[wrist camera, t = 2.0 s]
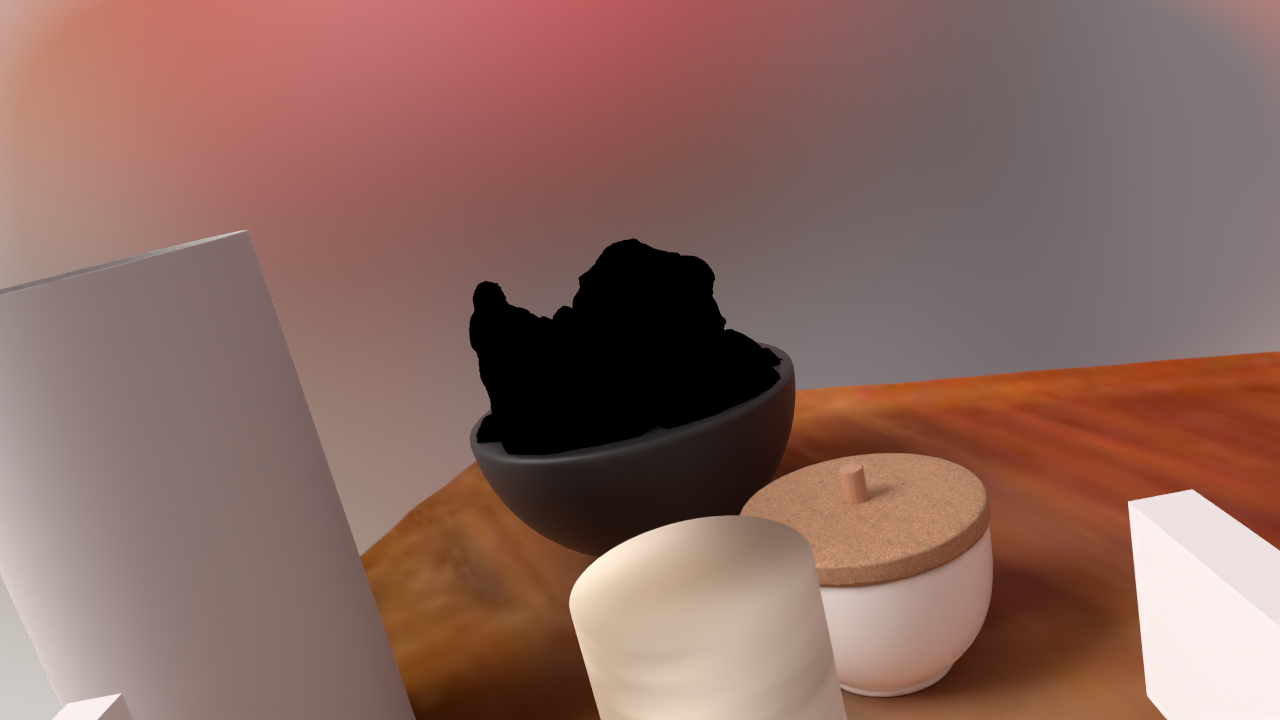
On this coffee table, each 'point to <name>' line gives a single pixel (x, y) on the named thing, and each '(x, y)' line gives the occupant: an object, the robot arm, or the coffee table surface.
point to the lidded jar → (891, 562)
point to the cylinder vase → (179, 499)
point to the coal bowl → (626, 403)
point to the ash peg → (708, 625)
